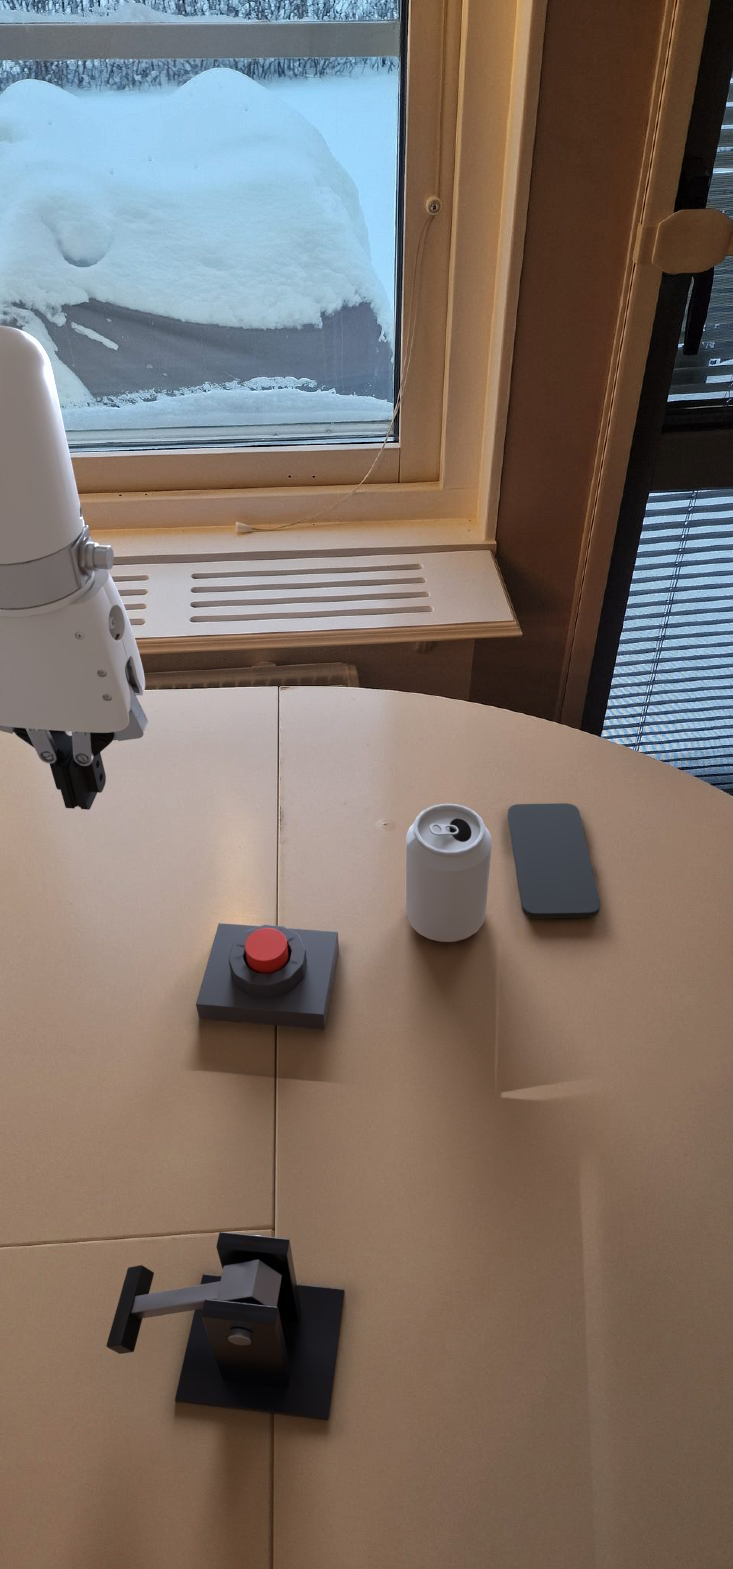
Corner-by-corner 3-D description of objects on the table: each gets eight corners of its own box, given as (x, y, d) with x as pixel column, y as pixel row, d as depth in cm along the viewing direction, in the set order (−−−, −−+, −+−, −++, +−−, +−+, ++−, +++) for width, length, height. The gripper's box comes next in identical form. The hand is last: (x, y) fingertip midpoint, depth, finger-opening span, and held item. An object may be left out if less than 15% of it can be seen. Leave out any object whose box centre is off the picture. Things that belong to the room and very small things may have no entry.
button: (243, 971, 89) (241, 959, 87) (251, 939, 91) (249, 926, 90) (284, 975, 88) (282, 962, 87) (291, 942, 91) (290, 929, 90)
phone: (578, 802, 107) (603, 912, 96) (577, 808, 108) (602, 918, 96) (506, 803, 107) (523, 914, 96) (505, 809, 108) (522, 919, 97)
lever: (125, 1357, 67) (99, 1343, 65) (146, 1278, 70) (122, 1263, 69) (271, 1337, 61) (246, 1321, 60) (286, 1252, 65) (263, 1235, 64)
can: (494, 941, 95) (502, 851, 87) (414, 953, 94) (415, 863, 86) (474, 882, 100) (481, 791, 92) (398, 892, 100) (398, 802, 92)
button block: (199, 1019, 89) (192, 991, 87) (221, 938, 96) (216, 909, 93) (324, 1029, 88) (322, 1001, 86) (338, 946, 95) (337, 918, 92)
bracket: (177, 1406, 67) (147, 1337, 59) (204, 1280, 73) (181, 1203, 65) (329, 1424, 66) (319, 1357, 58) (345, 1295, 72) (338, 1219, 64)
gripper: (167, 535, 61) (202, 767, 74) (-73, 523, 63) (1, 753, 75) (132, 603, 56) (176, 841, 68) (-131, 588, 57) (-41, 825, 70)
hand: (84, 794), depth 72 cm, fingers closed
